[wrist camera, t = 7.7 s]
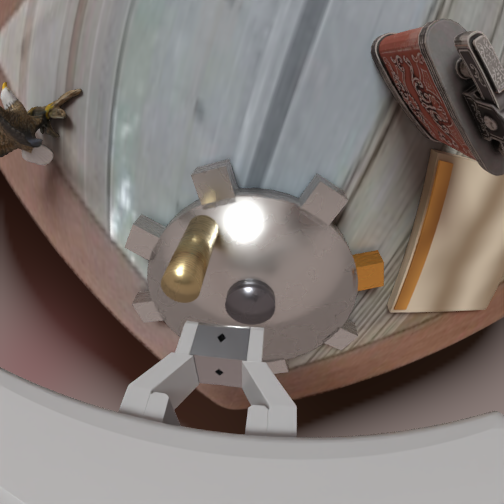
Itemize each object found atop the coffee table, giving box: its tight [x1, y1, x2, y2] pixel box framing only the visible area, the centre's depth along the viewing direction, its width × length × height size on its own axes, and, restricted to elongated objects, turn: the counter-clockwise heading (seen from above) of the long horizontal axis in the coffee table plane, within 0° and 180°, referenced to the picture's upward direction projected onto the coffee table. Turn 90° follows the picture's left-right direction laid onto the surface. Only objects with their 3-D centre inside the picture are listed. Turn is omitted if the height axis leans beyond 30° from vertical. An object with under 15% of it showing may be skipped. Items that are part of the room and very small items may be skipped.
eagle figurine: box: [0, 82, 82, 165], centre depth 13 cm, size 8×7×9 cm
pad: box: [387, 149, 504, 313], centre depth 20 cm, size 12×14×1 cm
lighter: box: [371, 19, 504, 176], centre depth 11 cm, size 8×3×10 cm, turn 42°
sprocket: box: [125, 159, 384, 374], centre depth 21 cm, size 20×20×8 cm
